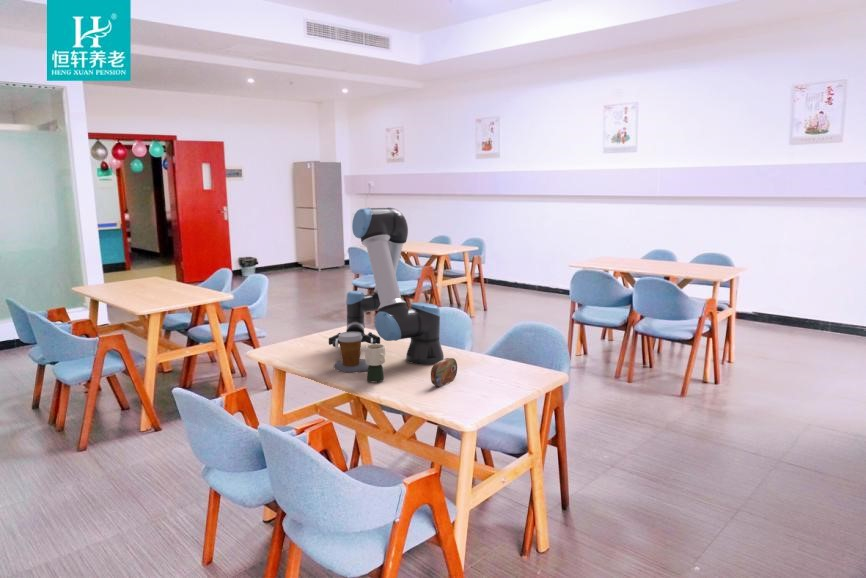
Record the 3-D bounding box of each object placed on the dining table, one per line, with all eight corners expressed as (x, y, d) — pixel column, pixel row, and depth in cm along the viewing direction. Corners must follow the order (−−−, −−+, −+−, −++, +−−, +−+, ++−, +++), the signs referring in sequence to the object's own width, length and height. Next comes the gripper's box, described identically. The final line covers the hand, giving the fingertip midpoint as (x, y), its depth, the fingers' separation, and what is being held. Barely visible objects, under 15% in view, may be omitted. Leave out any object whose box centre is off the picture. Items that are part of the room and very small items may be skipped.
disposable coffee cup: (336, 367, 226) (335, 337, 224) (341, 360, 236) (340, 331, 234) (361, 367, 226) (360, 337, 224) (364, 360, 235) (364, 331, 233)
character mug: (392, 383, 212) (392, 347, 210) (375, 387, 207) (375, 351, 205) (375, 375, 220) (375, 341, 218) (358, 379, 216) (358, 344, 214)
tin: (436, 389, 206) (436, 366, 204) (428, 387, 207) (429, 364, 206) (457, 378, 218) (458, 356, 217) (450, 376, 220) (450, 354, 218)
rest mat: (382, 363, 235) (382, 361, 235) (361, 374, 221) (361, 372, 220) (348, 358, 241) (348, 356, 241) (325, 369, 227) (325, 367, 227)
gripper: (385, 340, 250) (386, 354, 229) (325, 341, 247) (321, 356, 226) (385, 323, 249) (386, 336, 228) (324, 324, 246) (320, 337, 225)
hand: (354, 346), depth 227 cm, fingers open, 13 cm apart
